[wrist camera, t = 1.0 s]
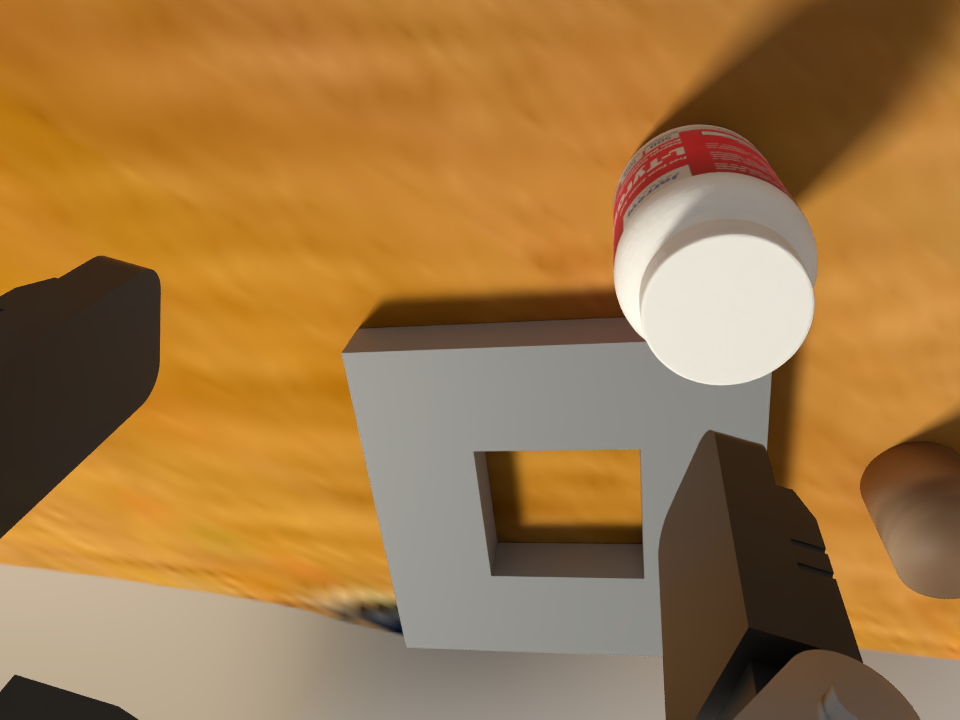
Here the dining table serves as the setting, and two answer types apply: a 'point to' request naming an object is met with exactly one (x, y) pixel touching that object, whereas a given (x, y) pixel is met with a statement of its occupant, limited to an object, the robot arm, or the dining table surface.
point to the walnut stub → (918, 514)
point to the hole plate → (525, 427)
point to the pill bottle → (712, 256)
